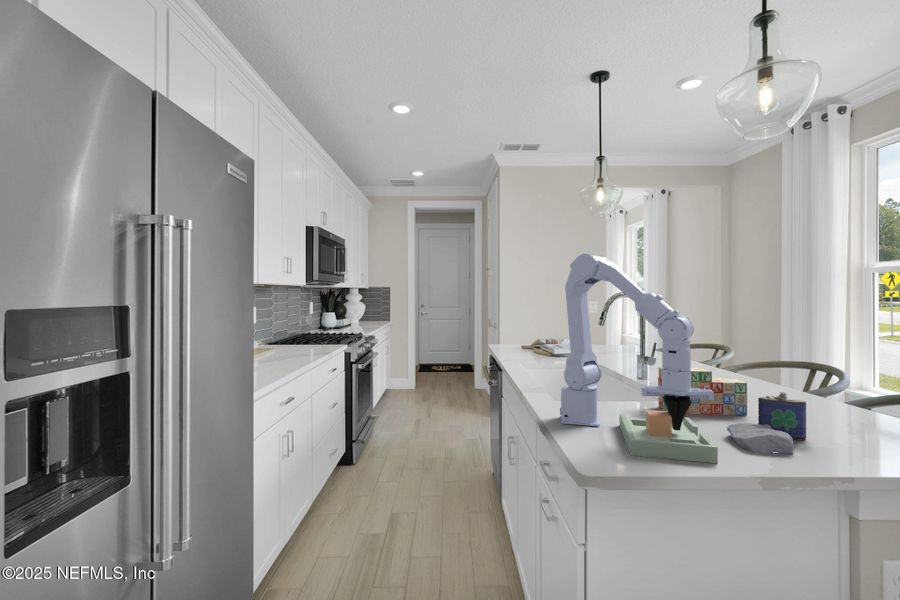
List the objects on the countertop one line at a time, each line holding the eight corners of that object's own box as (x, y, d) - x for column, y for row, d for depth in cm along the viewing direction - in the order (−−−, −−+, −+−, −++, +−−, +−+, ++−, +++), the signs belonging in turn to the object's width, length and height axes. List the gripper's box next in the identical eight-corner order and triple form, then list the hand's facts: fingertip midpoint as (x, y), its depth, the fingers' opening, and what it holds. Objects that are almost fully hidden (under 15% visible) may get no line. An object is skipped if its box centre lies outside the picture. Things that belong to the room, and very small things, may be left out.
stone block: (749, 461, 90) (800, 454, 88) (744, 439, 90) (795, 431, 88) (722, 444, 101) (767, 437, 100) (717, 424, 102) (762, 417, 100)
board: (630, 455, 88) (630, 439, 88) (619, 425, 108) (619, 412, 108) (717, 463, 84) (717, 447, 84) (688, 430, 104) (689, 417, 104)
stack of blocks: (736, 410, 123) (736, 368, 123) (747, 416, 117) (747, 372, 117) (657, 407, 126) (658, 366, 126) (665, 413, 120) (665, 370, 120)
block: (649, 435, 95) (649, 415, 95) (645, 429, 99) (645, 410, 99) (671, 436, 93) (671, 416, 93) (666, 430, 98) (666, 411, 98)
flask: (803, 437, 99) (804, 392, 99) (809, 441, 96) (809, 394, 96) (756, 433, 102) (756, 389, 102) (760, 437, 99) (760, 391, 99)
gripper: (644, 371, 94) (644, 431, 94) (718, 374, 90) (718, 437, 90) (639, 365, 100) (639, 422, 101) (707, 368, 97) (707, 427, 97)
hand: (676, 429), depth 96 cm, fingers closed
